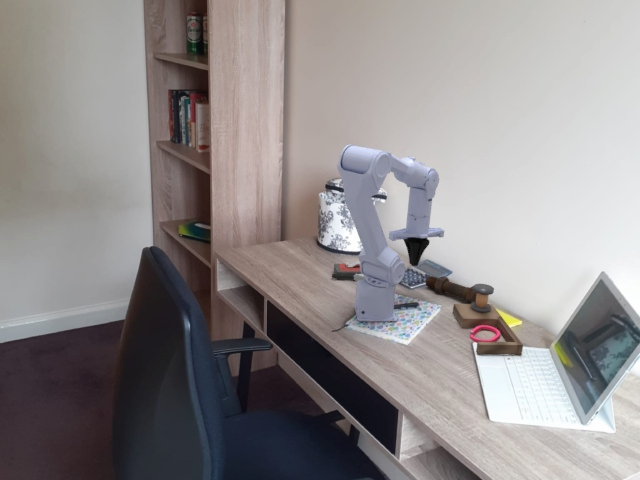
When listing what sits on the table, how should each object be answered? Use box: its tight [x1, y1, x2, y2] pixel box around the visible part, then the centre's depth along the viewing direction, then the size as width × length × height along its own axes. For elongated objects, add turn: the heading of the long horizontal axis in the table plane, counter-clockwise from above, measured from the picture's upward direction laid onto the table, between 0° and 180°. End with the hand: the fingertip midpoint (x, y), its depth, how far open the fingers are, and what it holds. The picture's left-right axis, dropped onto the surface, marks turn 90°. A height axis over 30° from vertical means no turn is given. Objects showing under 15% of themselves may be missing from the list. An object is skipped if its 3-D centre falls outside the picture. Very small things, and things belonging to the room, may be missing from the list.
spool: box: [471, 283, 495, 313], centre depth 145 cm, size 5×5×6 cm
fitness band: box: [469, 325, 501, 343], centre depth 137 cm, size 8×6×2 cm
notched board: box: [452, 303, 524, 356], centre depth 139 cm, size 10×20×2 cm, turn 4°
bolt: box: [425, 275, 477, 304], centre depth 157 cm, size 6×5×15 cm
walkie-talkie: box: [331, 260, 405, 282], centre depth 167 cm, size 9×4×20 cm
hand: (413, 264), depth 152 cm, fingers closed
